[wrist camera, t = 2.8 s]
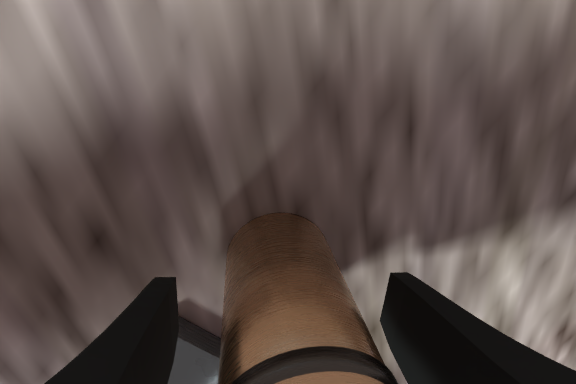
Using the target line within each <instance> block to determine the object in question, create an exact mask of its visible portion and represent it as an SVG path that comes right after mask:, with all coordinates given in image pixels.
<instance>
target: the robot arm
mask: <svg viewBox="0 0 576 384" xmlns="http://www.w3.org/2000/svg"><path fill="white" fill-rule="evenodd" d="M380 322H381V325H382V328H383V331H384V333H385V336H386V339H387V342H388V344H389V347H390V349H391V351H392V353H393V355H394V357H395V359H396V361H397V363H398V365H399V367H400V369H401V371H402V373H403V375H404V377H405V379H406V381H407V383H408V384H576V371H575V370H572V369H570V368H568V367H566V366H564V365H562V364H560V363H558V362H556V361H554V360H552V359H549V358H547V357H545V356H544V355H542V354H540V353H538V352H536V351H534V350H532V349H530V348H528V347H527V346H525V345H523V344H521V343H519V342H517V341H515V340H514V339H512V338H510V337H508V336H507V335H505V334H503V333H501V332H500V331H498V330H497V329H495V328H493V327H492V326H490V325H488V324H487V323H485V322H483V321H482V320H480V319H478V318H477V317H475V316H474V315H472V314H471V313H469V312H467V311H466V310H464V309H463V308H461V307H460V306H458V305H457V304H455V303H454V302H452V301H451V300H449V299H448V298H446V297H445V296H443V295H442V294H440V293H439V292H437V291H436V290H434V289H433V288H431V287H430V286H428V285H427V284H425V283H424V282H422V281H421V280H419V279H418V278H416V277H414V276H413V275H411V274H409V273H408V272H403V273H390V277H389V282H388V286H387V291H386V295H385V300H384V304H383V309H382V313H381V318H380ZM178 333H179V320H178V304H177V289H176V277H156V278H154V279H153V280H152V281H151V282H150V283H149V284H148V285H147V286H146V287H145V288H144V290H143V291H142V292H141V293H140V294H139V295H138V296H137V297H136V298H135V300H134V301H133V302H132V303H131V304H130V305H129V306H128V307H127V308H126V309H125V310H124V311H123V312H122V313H121V314H120V315H119V316H118V317H117V318H116V319H115V320H114V322H113V323H112V324H111V325H110V326H109V327H108V328H107V329H106V330H105V331H104V332H103V333H101V334H100V335H99V336H98V337H97V338H96V339H95V340H94V341H93V342H92V343H91V344H90V345H89V346H88V347H87V348H85V349H84V350H83V351H82V352H81V353H80V354H79V355H78V356H77V357H76V358H74V359H73V360H72V361H71V362H70V363H69V364H68V365H66V366H65V367H64V368H63V369H62V370H61V371H59V372H58V373H57V374H56V375H54V376H53V377H52V378H51V379H50V380H48V381H47V382H46V383H45V384H168V380H169V377H170V373H171V370H172V366H173V362H174V357H175V351H176V345H177V339H178Z"/></svg>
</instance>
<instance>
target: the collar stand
mask: <svg viewBox="0 0 576 384" xmlns="http://www.w3.org/2000/svg"><path fill="white" fill-rule="evenodd" d="M178 320H179V333H178V339H177V345H176V351H175V357H174V362H173V366H172V370H171V373H170V377H169V380H168V384H218V376H219V362H220V348H221V339H220V338H218V337H216V336H214V335H213V334H211V333H209V332H207V331H205V330H203V329H201V328H200V327H198V326H196V325H194V324H192V323H190V322H188V321H186V320H185V319H183V318H181V317H179V316H178Z"/></svg>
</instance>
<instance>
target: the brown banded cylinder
mask: <svg viewBox="0 0 576 384" xmlns="http://www.w3.org/2000/svg"><path fill="white" fill-rule="evenodd" d="M218 384H398V383H397V381H396V379H395V377H394V376H393V374H392V372H391V371H390V370H389V369H388V368H387V367H386V366H385V364H384V362H383V360H382V358H381V356H380V354H379V351H378V349H377V347H376V345H375V343H374V341H373V339H372V337H371V335H370V333H369V330H368V328H367V326H366V324H365V322H364V320H363V318H362V316H361V314H360V311H359V309H358V307H357V305H356V303H355V301H354V299H353V297H352V295H351V292H350V290H349V288H348V286H347V284H346V282H345V280H344V278H343V276H342V273H341V271H340V269H339V267H338V265H337V263H336V261H335V259H334V257H333V254H332V252H331V250H330V248H329V246H328V244H327V242H326V240H325V238H324V236H323V234H322V232H321V231H320V230H319V229H318V227H317V226H316V225H314V224H313V223H312V222H311V221H309V220H308V219H306V218H304V217H301V216H298V215H295V214H290V213H272V214H267V215H263V216H260V217H258V218H256V219H254V220H252V221H250V222H248V223H247V224H246V225H244V226H243V227H242V228H241V229H240V230H239V231H238V232H237V233H236V235H235V236H234V238H233V239H232V241H231V243H230V245H229V248H228V252H227V262H226V277H225V291H224V305H223V319H222V333H221V348H220V362H219V376H218Z"/></svg>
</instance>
